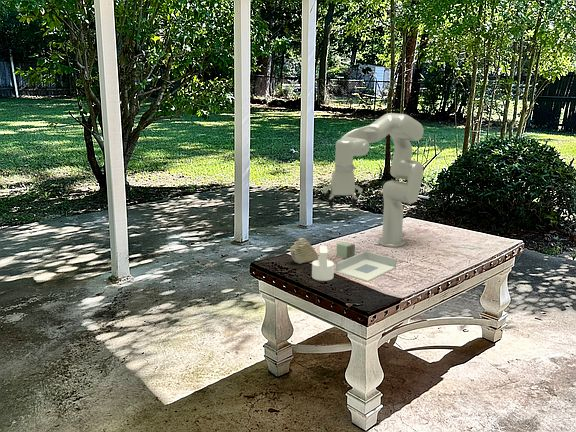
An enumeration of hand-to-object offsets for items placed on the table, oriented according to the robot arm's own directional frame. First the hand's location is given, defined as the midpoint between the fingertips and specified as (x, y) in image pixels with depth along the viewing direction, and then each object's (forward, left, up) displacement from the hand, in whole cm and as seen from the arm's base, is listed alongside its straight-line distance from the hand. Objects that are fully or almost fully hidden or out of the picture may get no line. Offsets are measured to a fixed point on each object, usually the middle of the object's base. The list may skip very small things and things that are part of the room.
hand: (342, 207), depth 236 cm
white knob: (+19, +5, -26) cm, 32 cm away
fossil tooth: (+10, -13, -26) cm, 30 cm away
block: (-8, -3, -25) cm, 27 cm away
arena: (0, +14, -25) cm, 29 cm away
